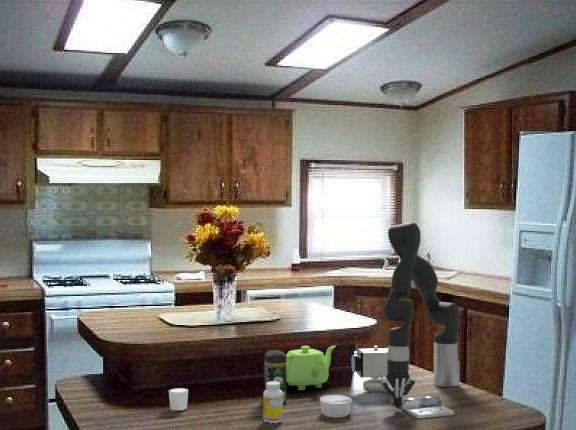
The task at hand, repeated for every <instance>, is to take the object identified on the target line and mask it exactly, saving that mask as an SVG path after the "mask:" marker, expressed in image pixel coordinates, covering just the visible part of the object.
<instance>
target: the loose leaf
mask: <svg viewBox="0 0 576 430" xmlns="http://www.w3.org/2000/svg"><path fill="white" fill-rule="evenodd" d="M416 397H417V398H413V397H406V398H407V399H402V406H401V407H402V409H401V410H402V411H404V412H406V413H407V414H409V415H411V416H413V417H414V418H416V419H428V418H429V419H430V418H437V417H439V418H440V417H446V416H447V417H448V416H454V415H455V411H454V410H452V409H450V408H448V407H446V406H444V405H442V404H441V405H439V406H429V407H423V405H424V404H423V400H422V398H421V397H422V396H416Z"/></svg>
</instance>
